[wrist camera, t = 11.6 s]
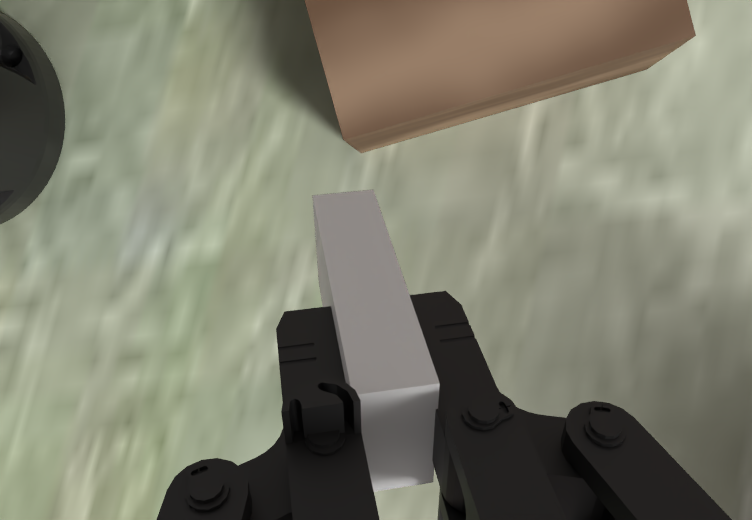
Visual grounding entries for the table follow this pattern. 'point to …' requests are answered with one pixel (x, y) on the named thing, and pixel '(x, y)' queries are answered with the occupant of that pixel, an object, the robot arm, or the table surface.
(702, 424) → the table surface
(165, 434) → the table surface
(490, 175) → the table surface
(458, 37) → the walnut stand
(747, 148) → the table surface
